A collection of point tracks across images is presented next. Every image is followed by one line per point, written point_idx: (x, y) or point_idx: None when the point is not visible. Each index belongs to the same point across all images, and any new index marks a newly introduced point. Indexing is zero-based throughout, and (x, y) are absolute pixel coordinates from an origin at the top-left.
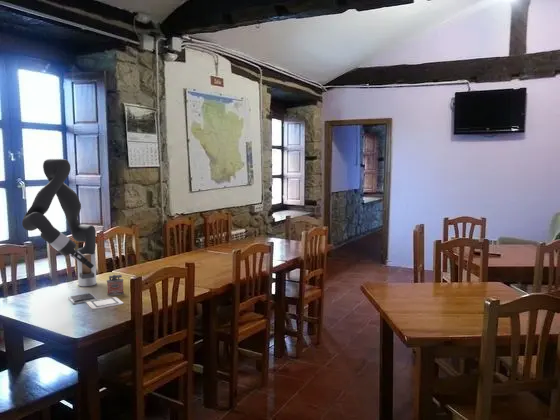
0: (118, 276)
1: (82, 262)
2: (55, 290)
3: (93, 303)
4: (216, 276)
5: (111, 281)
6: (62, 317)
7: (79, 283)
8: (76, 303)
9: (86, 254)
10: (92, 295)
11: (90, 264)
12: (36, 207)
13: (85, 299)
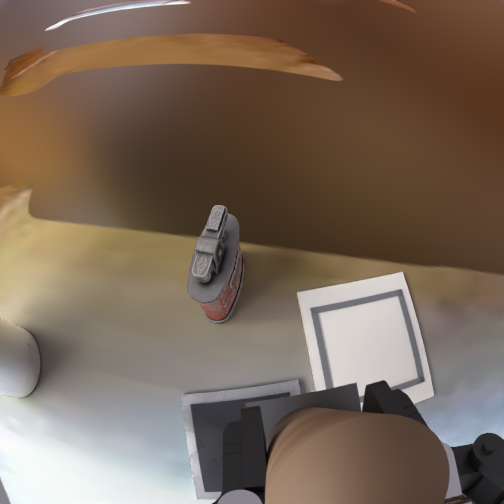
0: (223, 225)
1: (492, 486)
2: (43, 489)
3: None
4: (199, 44)
5: (227, 277)
6: None
7: (17, 396)
8: None
9: (344, 502)
10: (221, 395)
11: (415, 413)
12: None
13: None
